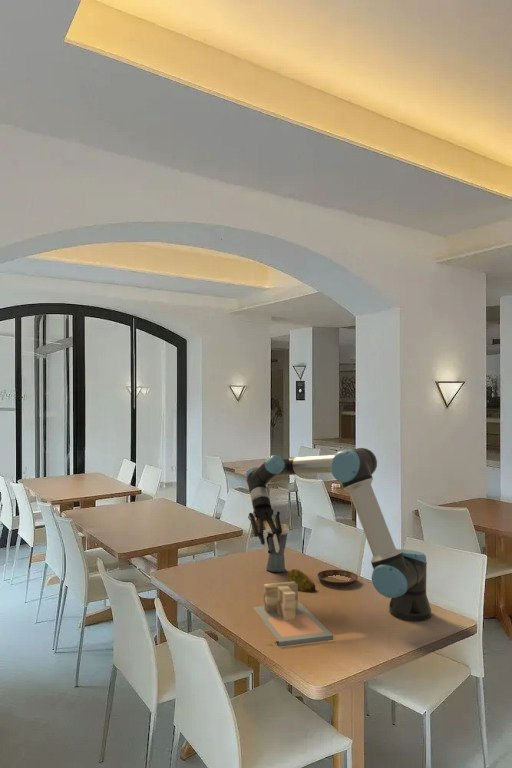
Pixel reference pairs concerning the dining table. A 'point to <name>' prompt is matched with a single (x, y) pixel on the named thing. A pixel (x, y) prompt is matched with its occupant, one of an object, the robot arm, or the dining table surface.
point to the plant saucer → (336, 582)
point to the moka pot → (276, 553)
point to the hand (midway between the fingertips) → (272, 550)
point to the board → (294, 627)
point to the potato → (301, 580)
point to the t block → (281, 599)
